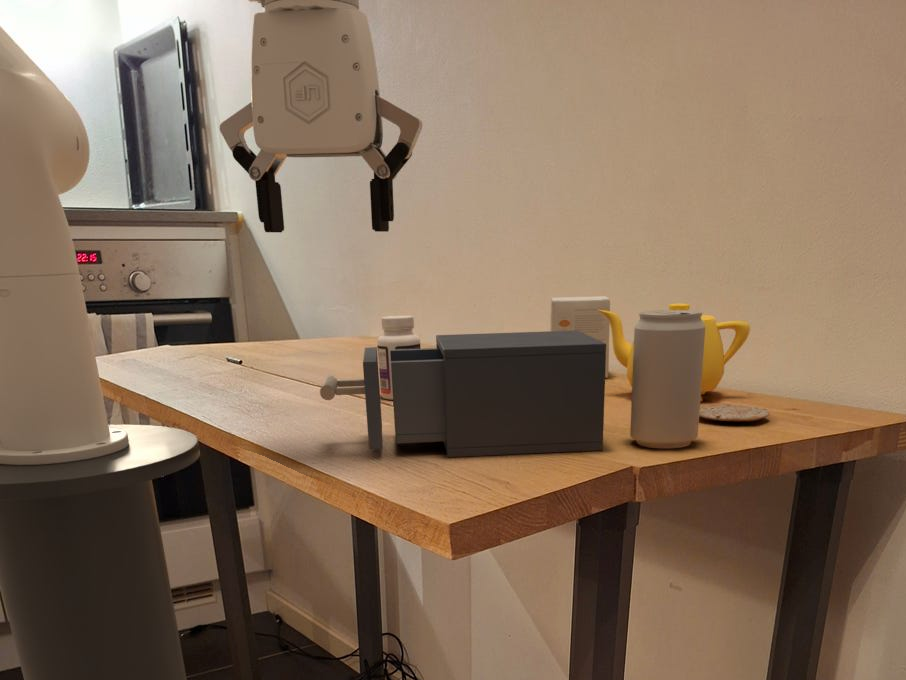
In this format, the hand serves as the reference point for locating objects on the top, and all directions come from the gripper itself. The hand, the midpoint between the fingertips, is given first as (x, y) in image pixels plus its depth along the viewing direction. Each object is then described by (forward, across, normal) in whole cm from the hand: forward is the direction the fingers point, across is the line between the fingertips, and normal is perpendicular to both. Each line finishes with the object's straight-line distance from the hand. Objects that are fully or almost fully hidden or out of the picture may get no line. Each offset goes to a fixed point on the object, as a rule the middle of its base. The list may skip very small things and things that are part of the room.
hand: (327, 231), depth 79 cm
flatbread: (+19, +38, +18) cm, 46 cm away
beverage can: (+19, +30, +5) cm, 36 cm away
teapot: (+19, +32, +33) cm, 50 cm away
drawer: (+18, +7, +4) cm, 20 cm away
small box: (+19, +20, +50) cm, 57 cm away
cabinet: (+19, +16, +6) cm, 26 cm away
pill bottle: (+19, -2, +32) cm, 37 cm away
